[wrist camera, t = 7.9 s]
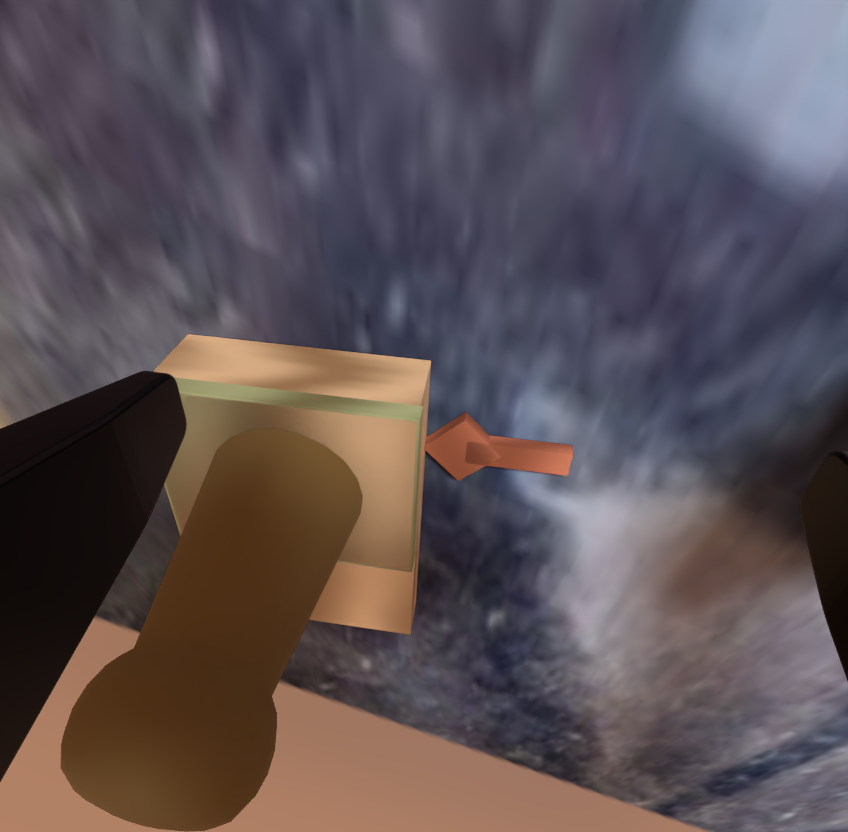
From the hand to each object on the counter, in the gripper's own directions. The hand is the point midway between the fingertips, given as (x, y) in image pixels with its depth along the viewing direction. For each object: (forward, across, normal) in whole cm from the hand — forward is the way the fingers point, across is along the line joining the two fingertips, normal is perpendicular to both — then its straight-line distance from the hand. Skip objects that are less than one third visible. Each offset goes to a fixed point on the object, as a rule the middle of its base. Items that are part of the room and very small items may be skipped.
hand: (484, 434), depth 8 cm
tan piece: (+13, +4, +15) cm, 20 cm away
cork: (+9, +7, +11) cm, 16 cm away
